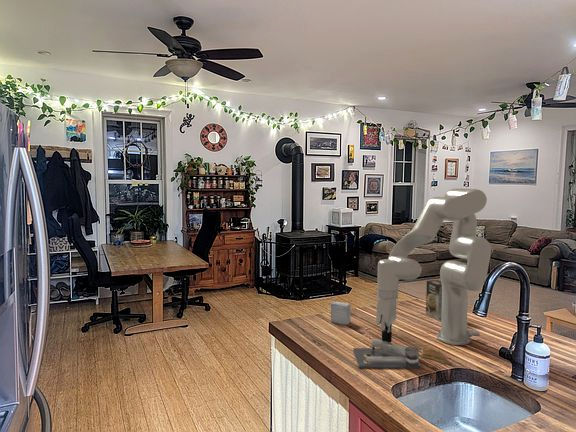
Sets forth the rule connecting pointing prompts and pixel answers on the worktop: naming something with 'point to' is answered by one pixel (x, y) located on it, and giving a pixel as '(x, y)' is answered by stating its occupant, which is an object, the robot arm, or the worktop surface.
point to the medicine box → (340, 313)
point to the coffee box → (434, 299)
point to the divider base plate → (379, 354)
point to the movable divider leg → (396, 348)
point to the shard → (434, 355)
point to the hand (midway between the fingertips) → (386, 341)
